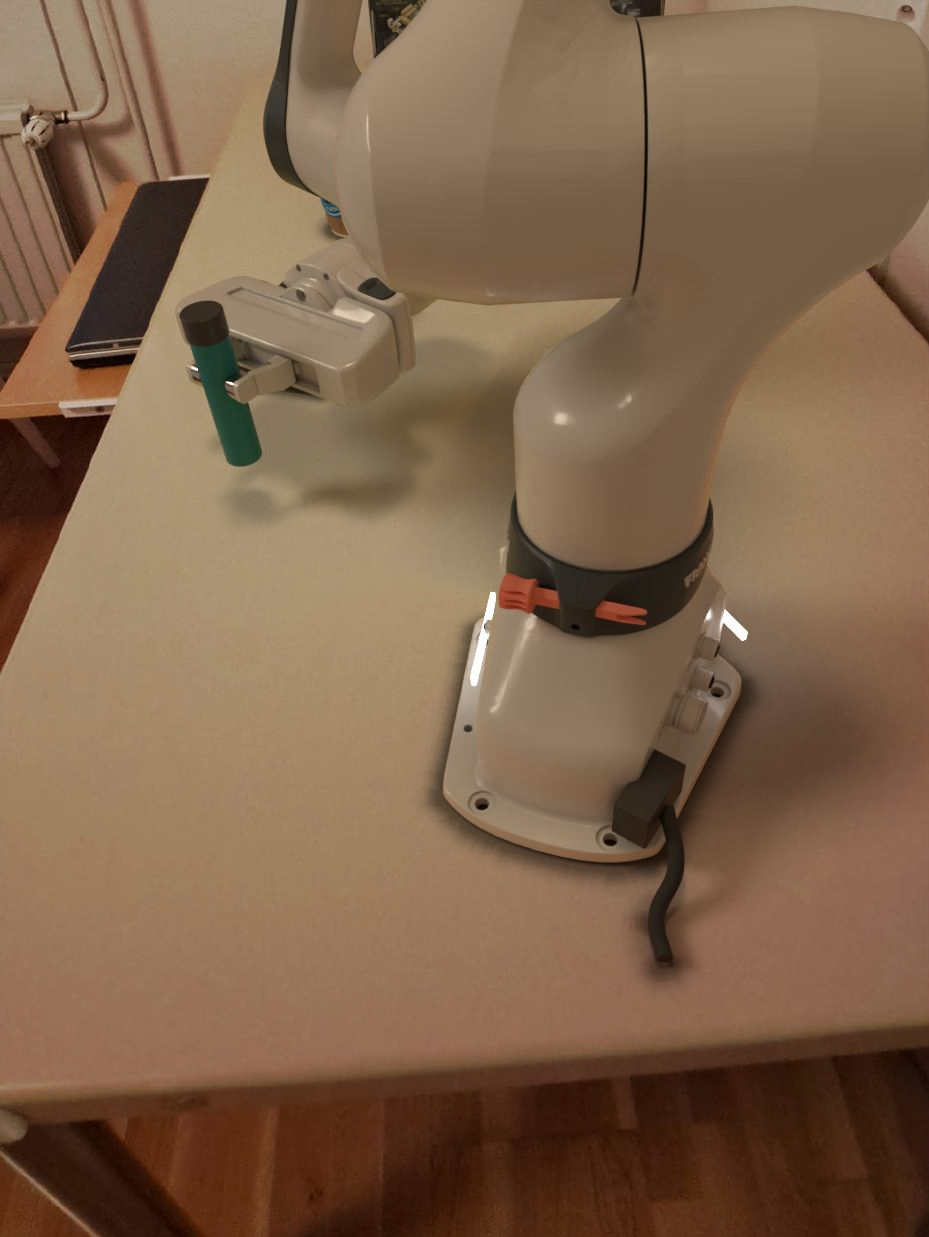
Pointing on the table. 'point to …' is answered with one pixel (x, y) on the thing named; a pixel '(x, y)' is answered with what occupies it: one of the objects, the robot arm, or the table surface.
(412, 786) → the table surface
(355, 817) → the table surface
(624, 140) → the robot arm
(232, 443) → the marker
